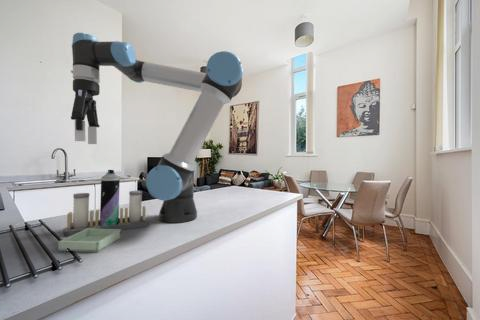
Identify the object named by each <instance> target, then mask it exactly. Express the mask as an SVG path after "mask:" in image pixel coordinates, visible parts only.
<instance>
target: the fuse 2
mask: <svg viewBox="0 0 480 320" xmlns="http://www.w3.org/2000/svg"><path fill="white" fill-rule="evenodd" d="M128 195H129V203H128V205H129V206H128V208H129V209H128V217H129V222H128V223H135V222H141V216H142V201H143V200H142V199H143V198H142V197H143V196H142V195H143V191H142V190H130V191H129V192H128Z"/></svg>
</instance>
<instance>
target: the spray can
mask: <svg viewBox="0 0 480 320" xmlns="http://www.w3.org/2000/svg"><path fill="white" fill-rule="evenodd" d="M100 180H101V181H100V209H99V220H100V225H99V226H108V225H117V224H119V223H118V220H119V218H120V186H121V185H120V176H119V175H118V174H116V173H115V170H114V169H108V170H107V172H106V173H105V175H102V176H101V178H100Z"/></svg>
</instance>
